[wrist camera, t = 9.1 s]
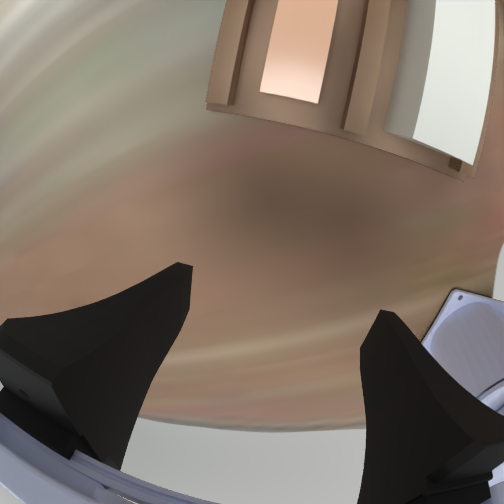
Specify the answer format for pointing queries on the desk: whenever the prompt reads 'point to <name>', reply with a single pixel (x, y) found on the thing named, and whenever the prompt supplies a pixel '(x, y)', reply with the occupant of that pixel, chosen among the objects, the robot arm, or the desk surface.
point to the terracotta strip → (299, 49)
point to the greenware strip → (444, 75)
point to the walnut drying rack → (330, 77)
